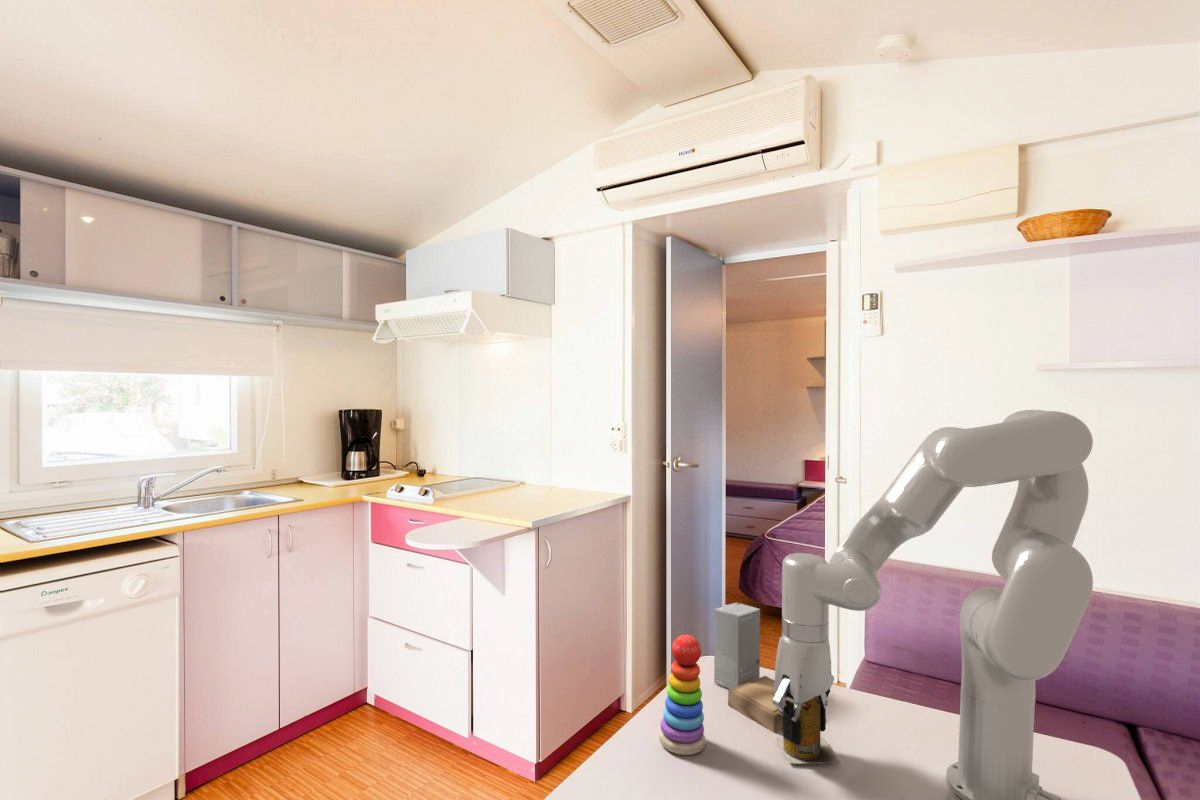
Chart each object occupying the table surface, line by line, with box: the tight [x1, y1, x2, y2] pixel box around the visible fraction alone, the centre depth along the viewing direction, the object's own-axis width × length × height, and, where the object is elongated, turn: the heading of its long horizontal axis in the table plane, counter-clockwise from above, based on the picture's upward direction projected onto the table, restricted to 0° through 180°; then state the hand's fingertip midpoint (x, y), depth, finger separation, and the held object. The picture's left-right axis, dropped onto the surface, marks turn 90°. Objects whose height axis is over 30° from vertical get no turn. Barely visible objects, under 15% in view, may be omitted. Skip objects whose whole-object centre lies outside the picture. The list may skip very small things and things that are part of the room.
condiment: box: [776, 693, 841, 765], centre depth 101 cm, size 7×8×12 cm
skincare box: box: [713, 602, 761, 690], centre depth 125 cm, size 8×7×16 cm
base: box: [727, 675, 783, 733], centre depth 115 cm, size 11×11×3 cm
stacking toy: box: [658, 634, 706, 756], centre depth 103 cm, size 8×8×19 cm
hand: (804, 733), depth 101 cm, fingers closed on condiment, 6 cm apart
